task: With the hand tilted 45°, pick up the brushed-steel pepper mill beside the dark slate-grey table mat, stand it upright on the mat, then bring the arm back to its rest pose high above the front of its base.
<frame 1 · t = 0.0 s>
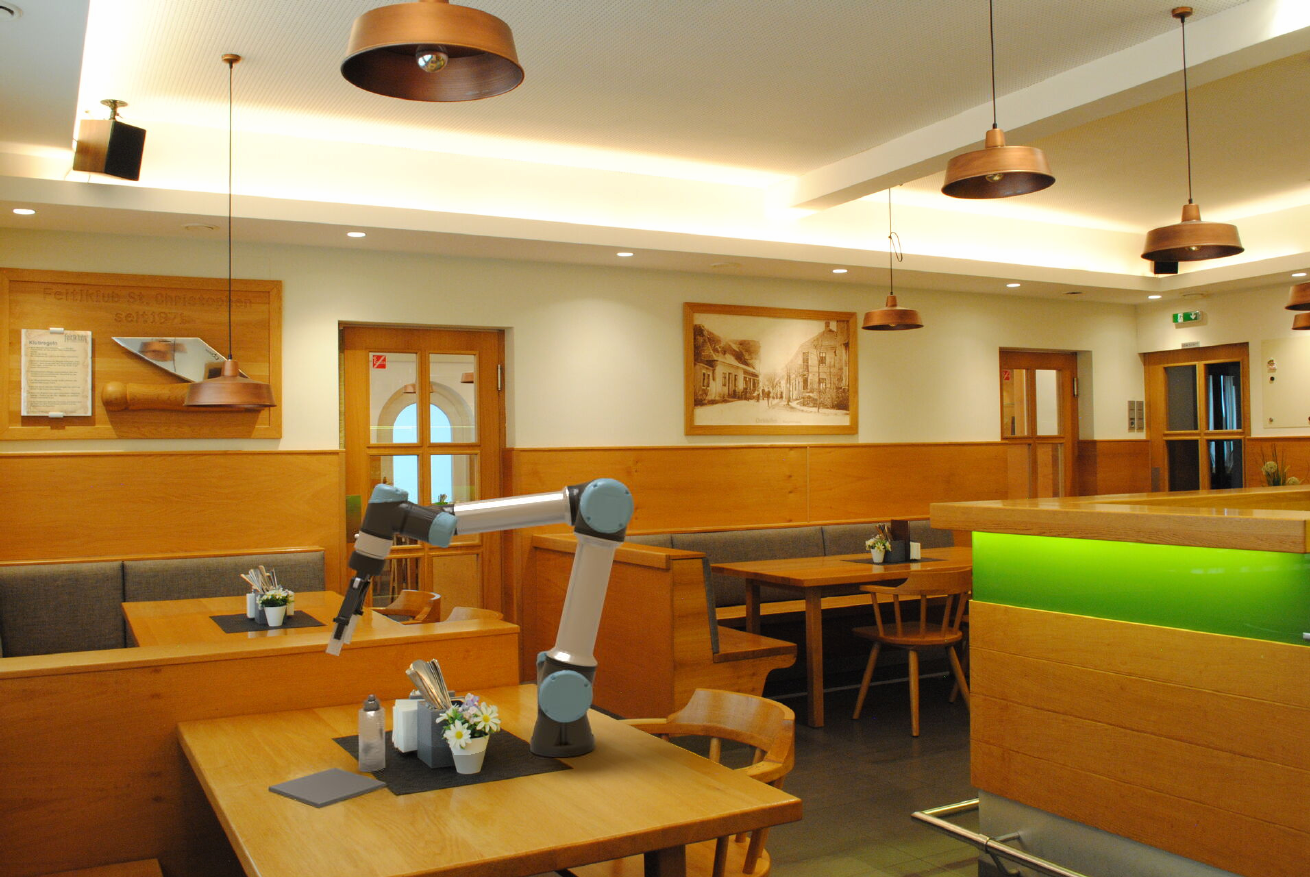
hand: (337, 648, 217), 28 cm above the table, tool tilted 20°, fingers open, 13 cm apart
pepper mill: (372, 768, 222), on the table
slate mat: (327, 788, 209), on the table
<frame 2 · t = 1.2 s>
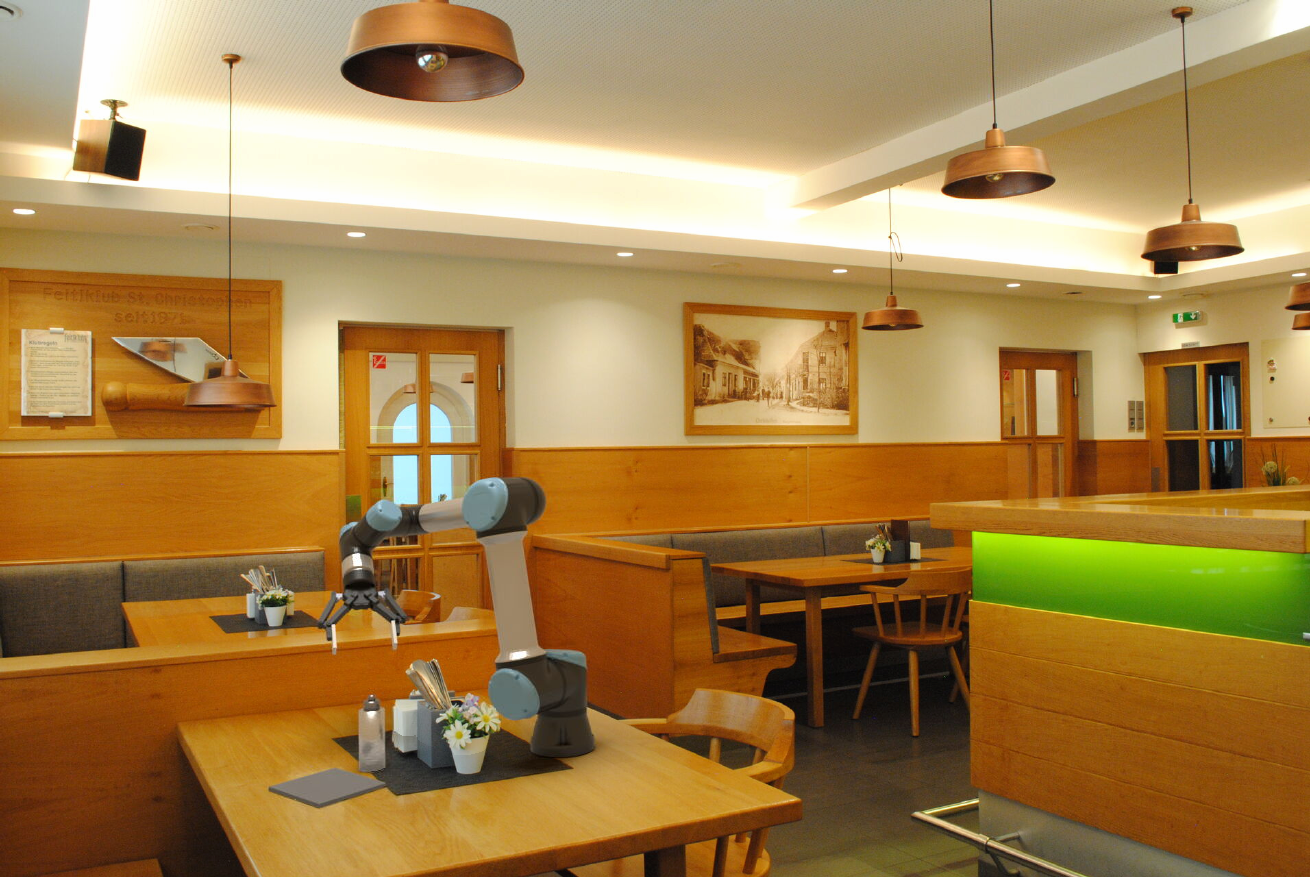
hand: (365, 649, 233), 25 cm above the table, tool tilted 45°, fingers open, 13 cm apart
nothing on the table moved.
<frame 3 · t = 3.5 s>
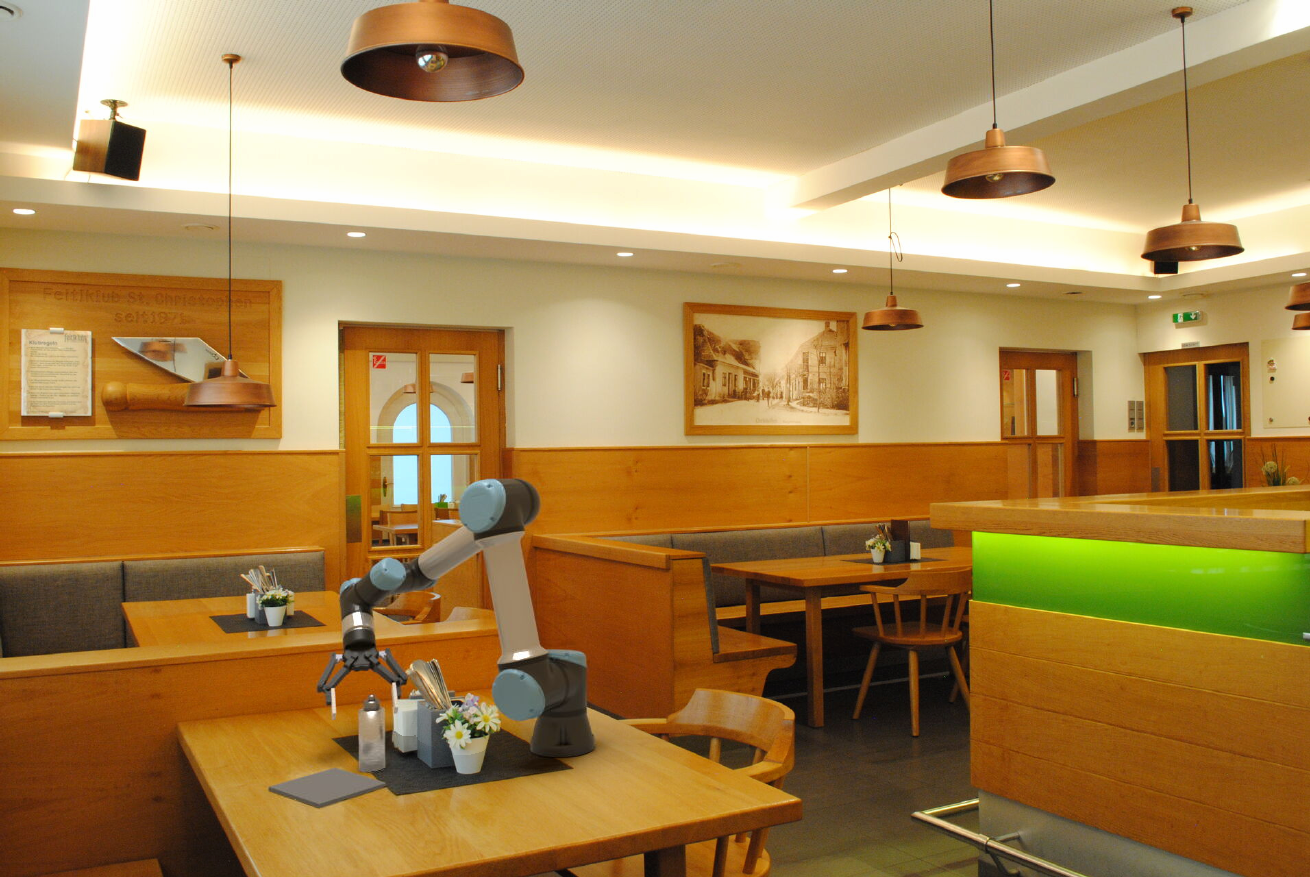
hand: (365, 713, 227), 11 cm above the table, tool tilted 45°, fingers open, 13 cm apart
nothing on the table moved.
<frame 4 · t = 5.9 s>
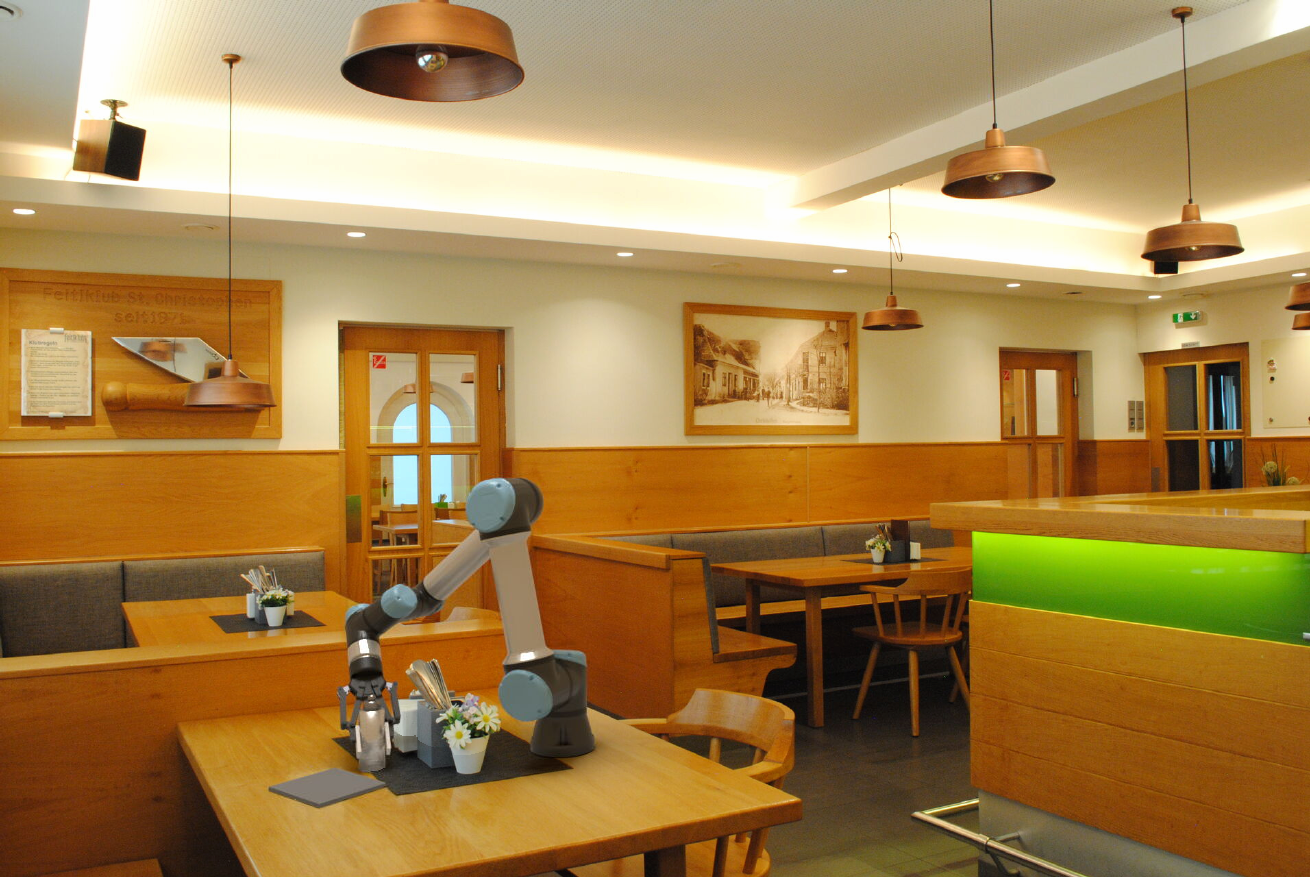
hand: (373, 753, 219), 4 cm above the table, tool tilted 45°, fingers closed on pepper mill, 6 cm apart
pepper mill: (372, 768, 222), on the table, touching gripper
everything else where it was.
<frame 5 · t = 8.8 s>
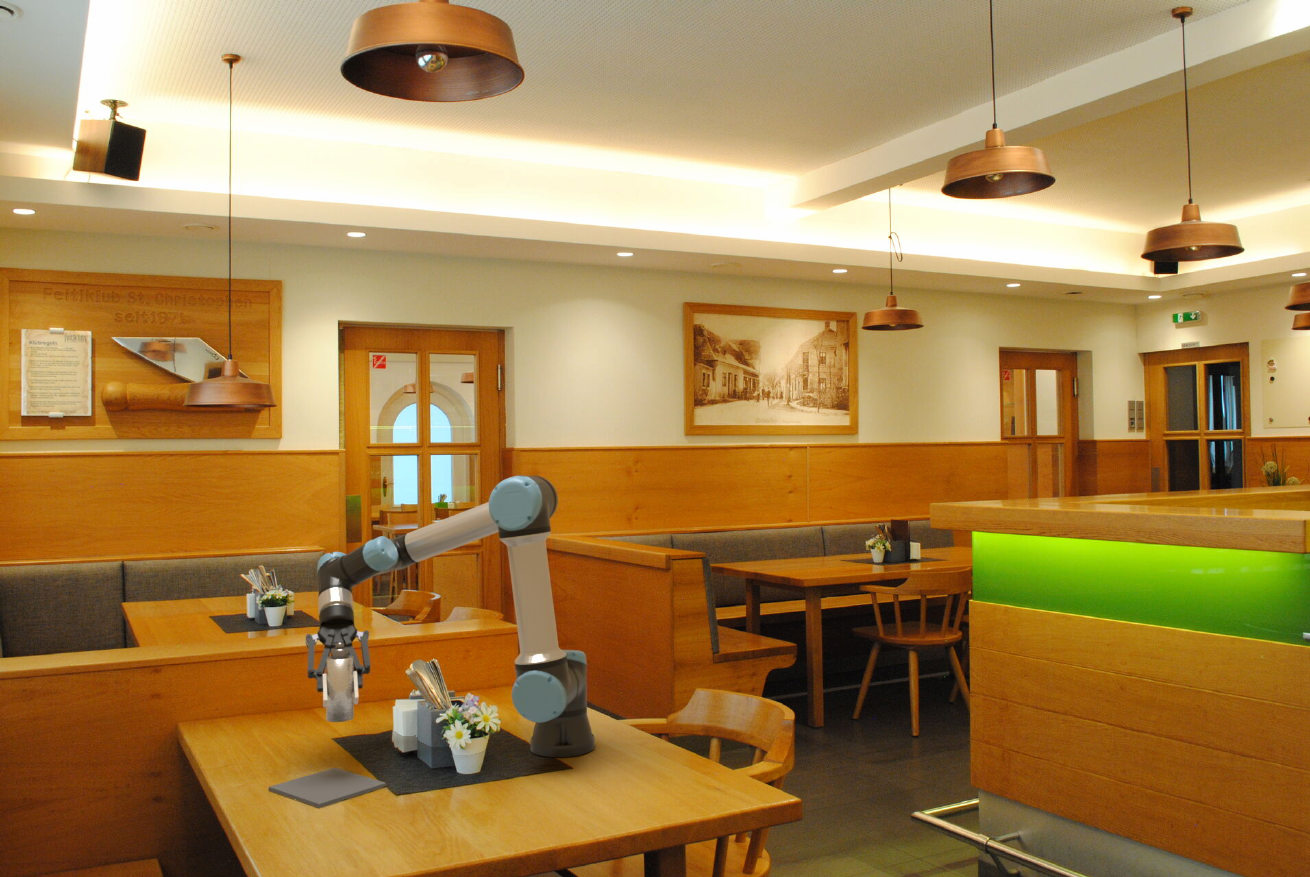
hand: (340, 702, 211), 17 cm above the table, tool tilted 45°, fingers closed on pepper mill, 6 cm apart
pepper mill: (340, 718, 215), point 13 cm above the table, touching gripper
everything else where it was.
when the fingers open (7 cm above the table, at t = 11.7 s): pepper mill drops 1 cm, resting on slate mat.
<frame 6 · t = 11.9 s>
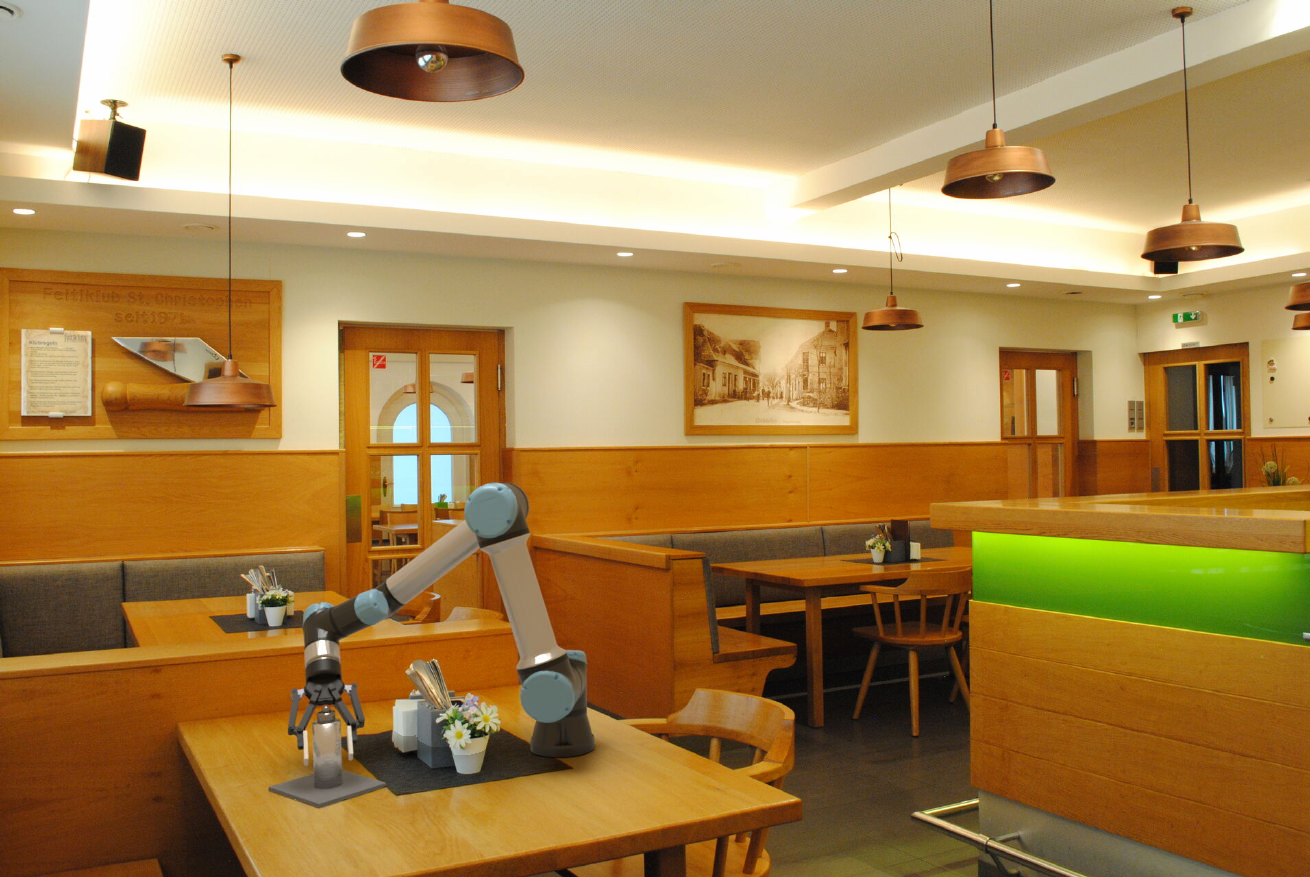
hand: (328, 759, 206), 7 cm above the table, tool tilted 45°, fingers open, 8 cm apart
pepper mill: (328, 784, 209), point 1 cm above the table, touching slate mat
everything else where it was.
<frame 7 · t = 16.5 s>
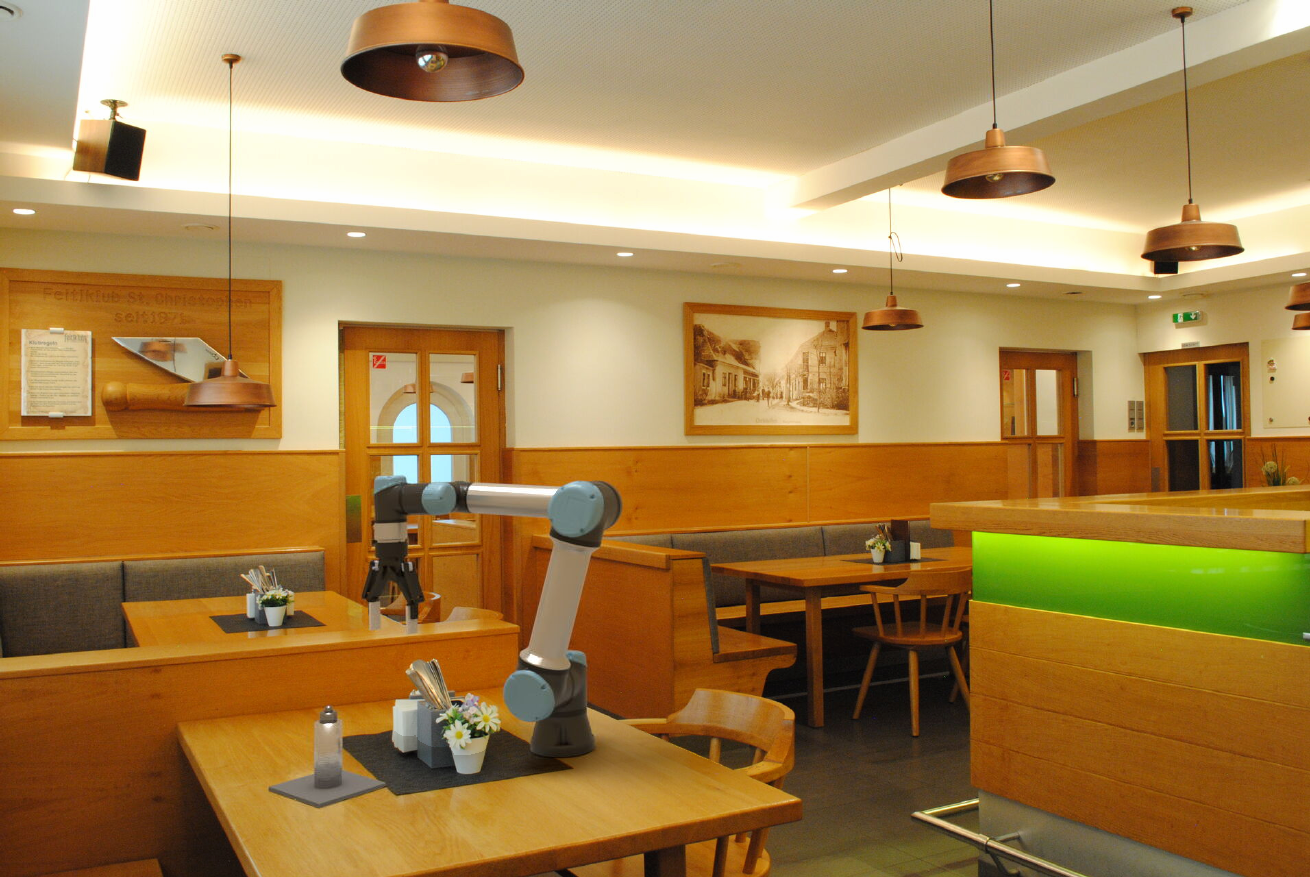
hand: (393, 631, 235), 28 cm above the table, tool pointing down, fingers open, 13 cm apart
nothing on the table moved.
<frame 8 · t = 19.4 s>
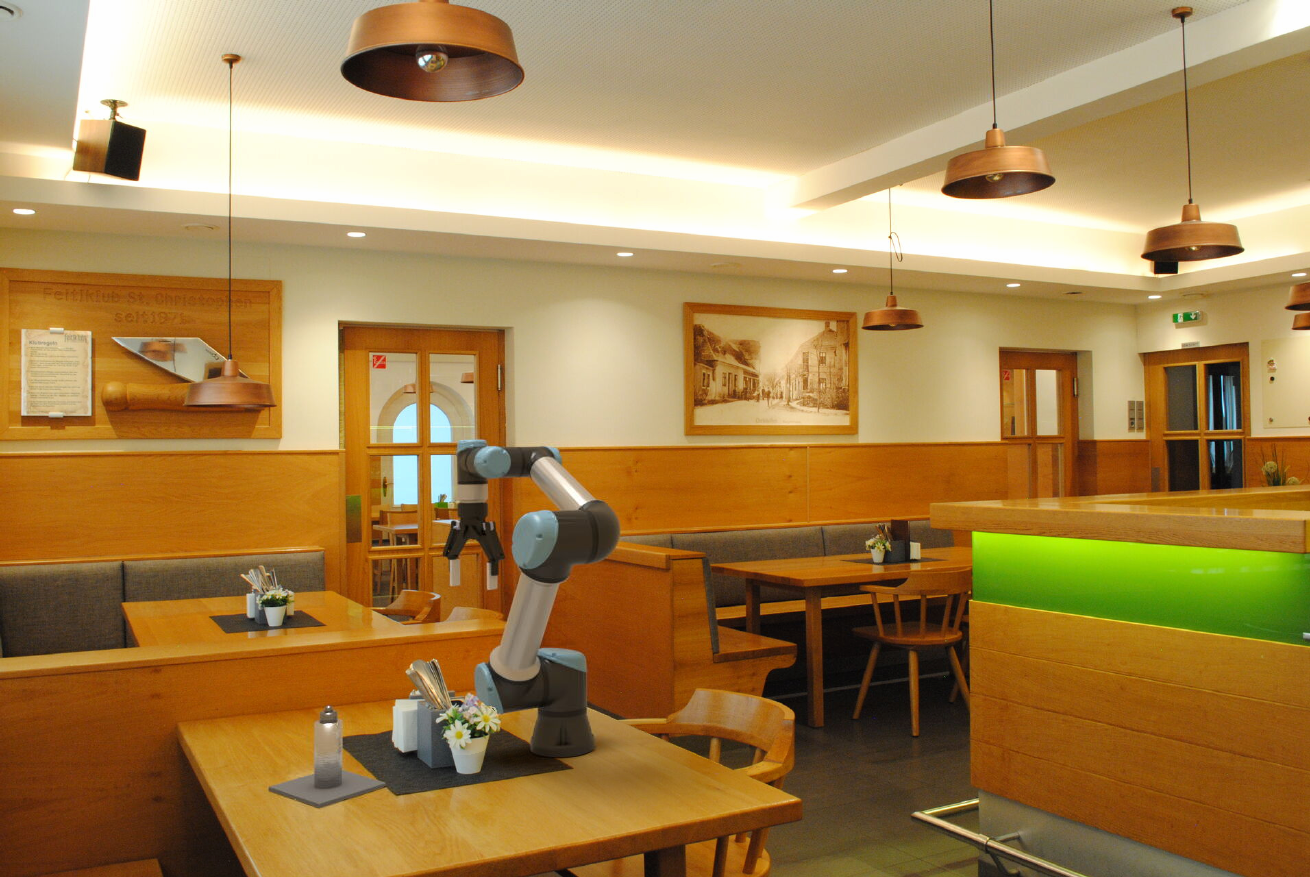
hand: (473, 587, 248), 37 cm above the table, tool pointing down, fingers open, 13 cm apart
nothing on the table moved.
at the end: pepper mill inside the target area on the slate mat (0.1 cm from its centre), point 0.8 cm above the slate mat's base; pepper mill tilted 0°; the gripper is holding nothing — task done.
